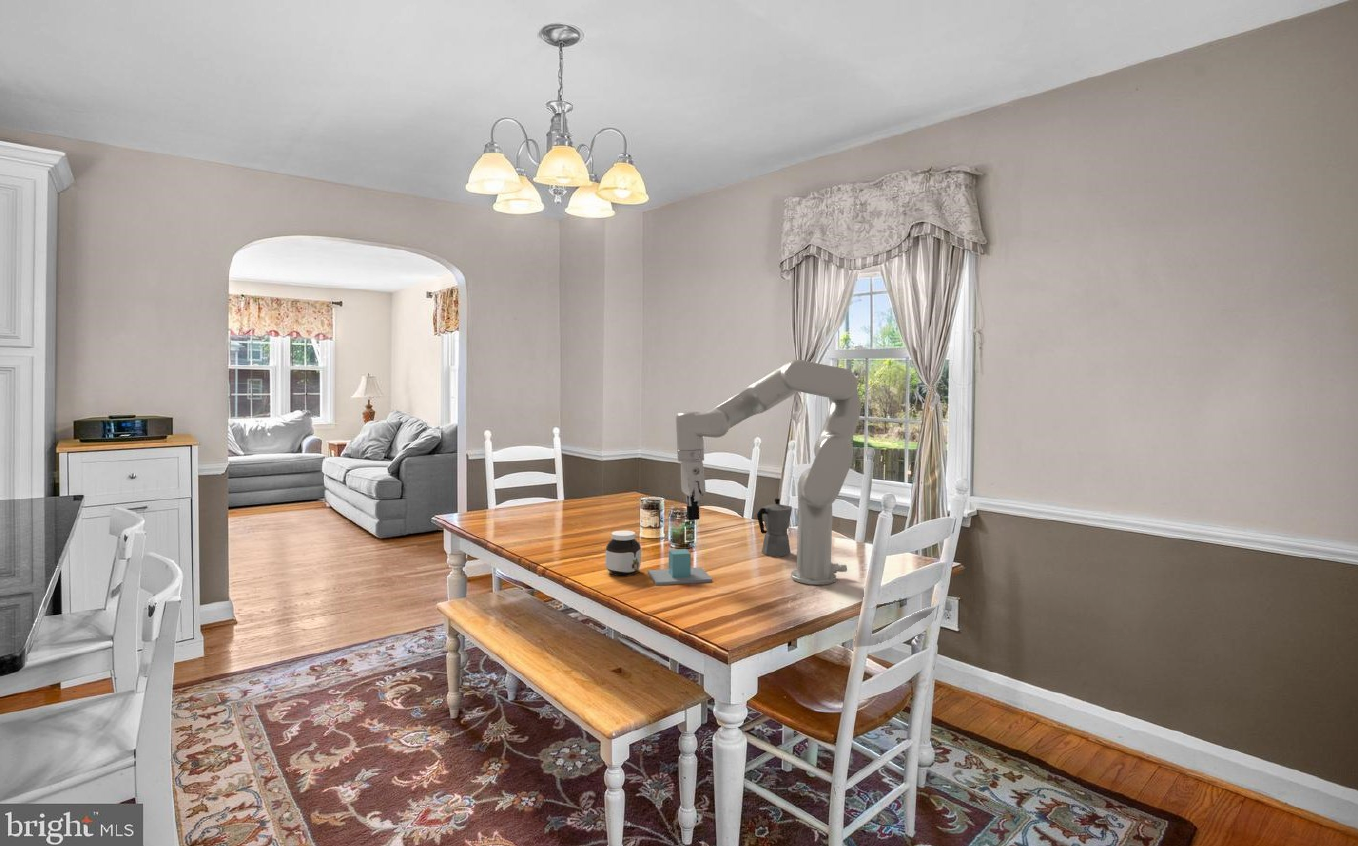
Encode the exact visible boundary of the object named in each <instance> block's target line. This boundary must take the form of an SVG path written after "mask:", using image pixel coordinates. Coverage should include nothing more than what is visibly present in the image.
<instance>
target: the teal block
mask: <svg viewBox="0 0 1358 846" xmlns="http://www.w3.org/2000/svg"><path fill="white" fill-rule="evenodd" d="M691 554H692V553H691V552H690V551H689V549H687V548H679V549H668V566H667V567H668V568H667V569H668V573H669V574H670V575H671V576H672V578H675V577H691V568H692V566H691V565H692V564H691V562H692V561H691V560H692V555H691Z"/></svg>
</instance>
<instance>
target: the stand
mask: <svg viewBox="0 0 1358 846" xmlns="http://www.w3.org/2000/svg"><path fill="white" fill-rule="evenodd" d="M647 574H648V576H649V577H650V579H651V580H652V581H653V583H654V585H656V586H665V585H666V586H667V585H681V584H682V585H683V584H700V583H712V582H713V578H712V577H711V576H710V575H709V573H707V572H706V571H705V570H704V568H702V567H697V566H696V567H691V577H675V578H672V576H671V575H670V574H669V573H668V568H666V569H665V568H663V569H649V570H647Z"/></svg>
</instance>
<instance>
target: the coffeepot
mask: <svg viewBox="0 0 1358 846" xmlns="http://www.w3.org/2000/svg"><path fill="white" fill-rule="evenodd" d="M780 501H781V499H780V498H778V497H777V498H774V502H775V503H773V504H767V505H764V506H762V507H761V508H759V510H758V512H757V513H756V517H757V521H758V526H759V531H760V533H761V534H764V537H763V544H762V548H761V553H762V554H763V555H764V556H767V557H772V558H785V557H788V556H790V554H792V553H791V545H790V540H789V534H788V529H789V528H790V523H791V516H792V511H793V508H792V506H790V505H785V504H780ZM765 528H766V529H765Z"/></svg>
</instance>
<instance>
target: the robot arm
mask: <svg viewBox="0 0 1358 846" xmlns="http://www.w3.org/2000/svg"><path fill="white" fill-rule="evenodd" d="M857 388H858V380H857V377H856V375H855V374H854V373H853V371H851V370H849V369H847V368H843V367H838V366H833V365H828V364H823V363H818V362H817V363H816V362H814V361H813V362H812V361H809V360H803V359H794V360H791V361H788V362H787V363H785V364H783V365H781V366H780V367H778V368H776V369H775V370H773V371H772V372H770V373H769V374H767V375H765V376H764V377H762V378H760V379H759V380H757V381H755V382H754V383H751V384H750V385H749V386H747V387H745V389H743V390H742V391H740V392H738V393H737V394H736V395H734V396H732V397H730V398H728V400H726V401H724V402H722V403H720V404H719V405H717V406H716V407H714V408H712V409H711V410H709V411H707V412H699V411H684V412H679V413H677V414H676V416H675V417H676V418H675V427H676V447H677V449H676V450H677V462H680V487H681V488H680V489H681V492H682V493H683V494H685V500H686V519H687V520H688V521H697V520H700V495H701V496H702V497H704V496H706V495H707V494H706V493H707V491H706V477H705V469H704V462H703V461H705V449H704V447H705V446H704V437H706V438H722V437H724V436H725V435H726V434H727V433H728V432H729V431H730V429H731V428H734V426H737V425H738V424H740V423H741V422H743V421H745V420H747V419H749V418H751V417H753V416H756V415H759V414H760V415H761V414H763V413H765V412H767V411H769V410H771V409H772V408H774V407H776V406H777V405H779V404H781V403H782V402H784V401H785V400H787V399H789V398H790V397H792V396H794V395H796V394H797V393H799V392H800V393H803V394H804V393H805V394H808V395H813V396H818V397H824V398H828V401H829V408H828V412H827V415H826V417H825V420H824V423H823V426H822V428H821V431H820V433H819V435H818V437H817V439H816V441H815V444H814V447H813V453H814V456H815V458H814V459H813V463H812V465H811V466H810V467H809V468H807V469H805V470H803V472H802V473H801V474H800V476H799V478H798V481H797V536H796V537H797V541H796V543H797V544H796V545H797V547H796V569H795V570H792V571H791V573H790V578H791V579H792V580H793V581H795V582H797V583H800V584H805V585H817V586H823V585H829V584H834V583H835V582H837V575H836V574H837V573H838V572H840V573H843V572H844V573H845V572H847V570H848V567H847V565H846V564H839V563H833V562H832V542H833V541H832V538H833V537H832V536H833V535H832V533H833V503H834V502H835V501H836V500H837V499H838V497H839V494H840V492H841V490H842V487H843V486H844V483H845V480H846V478H847V476H848V474H849V471H850V468H851V466H852V463H853V458H854V447H853V445H852V443H851V442H852V440H853V437H854V434H855V431H856V428H857V425H858V422H859V420H860V416H861V411H862V410H861V408H862V407H861V404H862V403H861V399H860V394H859V392H858V389H857Z"/></svg>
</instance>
